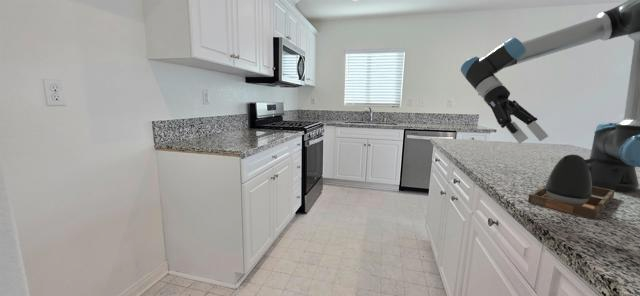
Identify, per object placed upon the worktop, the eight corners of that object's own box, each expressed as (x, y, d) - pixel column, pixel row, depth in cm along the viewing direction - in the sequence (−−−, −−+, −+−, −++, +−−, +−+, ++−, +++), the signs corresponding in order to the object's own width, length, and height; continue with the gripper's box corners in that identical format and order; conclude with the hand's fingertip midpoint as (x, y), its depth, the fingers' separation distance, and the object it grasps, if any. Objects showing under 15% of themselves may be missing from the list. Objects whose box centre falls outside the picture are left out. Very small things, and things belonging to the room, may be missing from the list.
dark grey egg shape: (599, 212, 75) (611, 159, 72) (556, 208, 77) (566, 157, 74) (573, 199, 85) (583, 152, 82) (535, 196, 87) (544, 150, 84)
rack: (555, 185, 99) (556, 179, 98) (613, 197, 87) (614, 190, 87) (527, 202, 82) (528, 194, 82) (594, 220, 70) (596, 211, 70)
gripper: (502, 100, 106) (541, 144, 96) (463, 98, 94) (503, 148, 83) (520, 86, 100) (563, 131, 90) (481, 82, 88) (525, 133, 78)
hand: (534, 139), depth 87 cm, fingers open, 13 cm apart
